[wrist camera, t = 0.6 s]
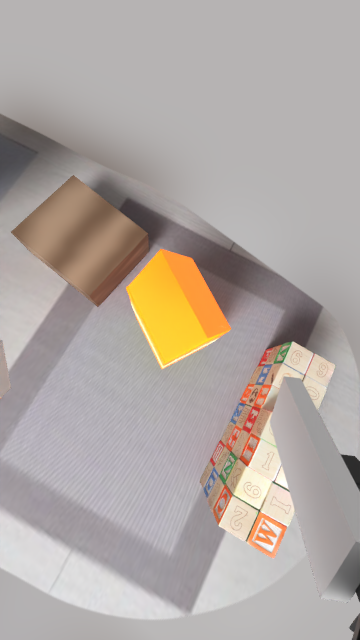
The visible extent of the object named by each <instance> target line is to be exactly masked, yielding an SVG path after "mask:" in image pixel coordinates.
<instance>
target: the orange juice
mask: <svg viewBox="0 0 360 640" xmlns="http://www.w3.org/2000/svg"><path fill="white" fill-rule="evenodd" d="M126 290H127V292H128V294H129V297H130V300H131V304H132V307H133V310H134V312H135V315H136V318H137V320H138V322H139V324H140V326H141V328H142V330H143V332H144V334H145V336H146V338H147V340H148V342H149V344H150V346H151V348H152V350H153V352H154V354H155V356H156V358H157V360H158V363H159V365H160V367H161V369H163V368H165V367H167V366H169V365H171V364H173V363H175V362H177V361H179V360H181V359H183V358H185V357H187V356H188V355H190V354H192V353H194V352H196V351H198V350H200V349H202V348H204V347H206V346H207V345H209V344H210V343H212V342H214V341H215V340H217V339H218V338H219V337H221V336H222V335H224V334H225V333H227V332H228V331H230V330H231V328H230V326H229V324H228V322H227V321H226V319H225V317H224V315H223V313H222V312H221V310H220V308H219V306H218V304H217V302H216V301H215V299H214V297H213V295H212V293H211V292H210V290H209V288H208V286H207V284H206V283H205V281H204V279H203V277H202V275H201V273H200V272H199V270H198V268H197V266H196V264H195V263H194V261H193V259H192V258H189V257H186V256H183V255H179V254H176V253H173V252H169V251H166V250H163V249H160V251H159V252H158V253H157V254H156V255H155V256H154V258H153V259H152V260H151V261H150V262H149V263H148V264H147V266H146V267H145V268H144V269H143V270H142V271H141V272H140V274H139V275H138V276H137V277H136V278H135V279H134V280H133V282H132V283H131V284H130V285H129V286H127V287H126Z"/></svg>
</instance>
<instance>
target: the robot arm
mask: <svg viewBox="0 0 360 640" xmlns="http://www.w3.org/2000/svg"><path fill="white" fill-rule="evenodd" d="M10 388H11V384H10V379H9V374H8V369H7V363H6V358H5V353H4V347H3V342H2V340H0V398H1V397H2V396H3V395H4V394H5V393H6V392H7V391H8V390H9V389H10ZM270 425H271V429H272V432H273V436H274V439H275V443H276V446H277V450H278V453H279V457H280V460H281V463H282V467H283V470H284V474H285V477H286V481H287V484H288V488H289V491H290V495H291V498H292V502H293V505H294V509H295V512H296V516H297V519H298V523H299V526H300V530H301V533H302V537H303V540H304V544H305V547H306V551H307V554H308V558H309V561H310V565H311V568H312V572H313V575H314V579H315V582H316V585H317V589H318V592H319V596H320V598H321V599H326V600H333V601H340V602H346V603H348V602H349V600H350V599H351V598H352V597H353V595H354V594H355V592H356V593H357V596H358V599H359V601H360V461H359V460H358V459H357V458H356V457H355V456H349V455H341V454H340V453H339V451H338V449H337V447H336V445H335V443H334V441H333V439H332V437H331V435H330V434H329V432H328V430H327V428H326V426H325V424H324V422H323V420H322V418H321V416H320V414H319V412H318V411H317V409H316V407H315V405H314V403H313V401H312V399H311V397H310V395H309V393H308V391H307V390H306V388H305V386H304V384H303V382H302V380H301V378H293V377H286V376H284V377H283V380H282V383H281V387H280V390H279V393H278V396H277V400H276V403H275V406H274V409H273V413H272V416H271V419H270ZM350 629H351V630H352V631H353V632H354V635H353V638H352V640H360V614H359V615H358V616H357V617H356V619H355V620H354V621H353V623H352V624H351V626H350Z"/></svg>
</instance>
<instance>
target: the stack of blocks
mask: <svg viewBox="0 0 360 640" xmlns="http://www.w3.org/2000/svg"><path fill="white" fill-rule="evenodd" d="M335 367H336V365H335V364H333V363H331V362H329V361H327V360H326V359H324V358H322V357H321V356H319V355H317V354H315V353H313V352H311V351H309V350H307V349H306V348H304V347H302V346H300V345H299V344H297V343H295V342H293V341H292V342H288V343H284V344H282V345H280V346H276V347H274V348H269V349H266V351H265V353H264V355H263V357H262V359H261V361H260V363H259V365H258V367H257V368H256V370H255V372H254V374H253V376H252V378H251V380H250V382H249V384H248V386H247V388H246V390H245V392H244V394H243V396H242V398H241V400H240V403H239V405H238V407H237V409H236V411H235V413H234V415H233V417H232V419H231V421H230V423H229V425H228V427H227V429H226V431H225V433H224V435H223V437H222V439H221V441H220V442H219V444H218V446H217V448H216V450H215V452H214V454H213V456H212V458H211V460H210V461H209V463H208V465H207V467H206V469H205V471H204V473H203V475H202V477H201V479H200V483H201V485H202V488H203V489H204V492H205V494H206V497H207V501H208V504H209V506H210V509H211V511H212V512H213V513H214V516H215V518H216V521H217V523H218V525H219V526H220V527H221V528H223V529H225V530H226V531H228V532H230V533H231V534H233V535H235V536H236V537H238V538H239V539H241V540H242V541H244V542H245V541H246V542H247V543H248V544H250V545H251V546H253V547H254V548H256V549H258V550H259V551H261V552H263V553H265V554H266V555H268V556H270V557H271V558H275V556H276V554H277V551H278V549H279V546H280V544H281V541H282V539H283V536H284V534H285V531H286V529H287V526H289V525H290V522H291V520H292V517H293V514H294V512H295V509H294V505H293V502H292V498H291V495H290V491H289V488H288V484H287V481H286V477H285V474H284V470H283V467H282V463H281V460H280V457H279V453H278V450H277V446H276V443H275V439H274V436H273V432H272V429H271V425H270V419H271V416H272V413H273V409H274V406H275V403H276V400H277V396H278V393H279V390H280V387H281V383H282V380H283V377H284V376H286V377H293V378H301V380H302V382H303V384H304V386H305V388H306V390H307V391H308V393H309V395H310V397H311V399H312V401H313V403H314V405H315V407H316V409H317V411H318V409H319V407H320V405H321V402H322V400H323V398H324V395H325V393H326V390H327V386H328V384H329V381H330V379H331V377H332V374H333V372H334V370H335Z"/></svg>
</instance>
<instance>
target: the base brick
mask: <svg viewBox="0 0 360 640" xmlns="http://www.w3.org/2000/svg"><path fill="white" fill-rule="evenodd" d="M11 233H12V234H13V235H14V236H15V237H16V238H17V239H18V240H19V241H20V242H21V243H22V244H23V245H24V246H25V247H26V248H27V249H28V250H29V251H30V252H31V253H32V254H34V255H35V256H36V257H37V258H39V259H40V260H41V261H42V262H44V263H45V264H46V265H47V266H48V267H50V268H51V269H52V270H53V271H55V272H56V273H57V274H58V275H59V276H61V277H62V278H63V279H64V280H66V281H67V282H68V283H69V284H70V285H72V286H73V287H74V288H75V289H77V290H78V291H79V292H80V293H81V294H83V295H84V296H85V297H86V298H88V299H89V300H90V301H91V302H92V303H94V304H95V305H96V306H97V307H99V305H100V304H101V303H102V302H103V301H104V300H105V299H106V298H107V297H108V296H109V295H110V294H111V292H112V291H113V290H114V289H115V288H116V287H117V286H118V285H119V284H120V283H121V282H122V280H123V279H124V278H125V277H126V276H127V275H128V274H129V273H130V272H131V271H132V270H133V268H134V267H135V266H136V265H137V264H138V263H139V262H140V261H141V260H142V259H143V258H144V257H145V255H146V254H147V253H148V252H149V242H148V233H147V232H146V231H144V230H143V229H142V228H140V227H139V226H138V225H137V224H135V223H134V222H133V221H131V220H130V219H129V218H128V217H126V216H125V215H124V214H122V213H121V212H120V211H119V210H117V209H116V208H115V207H113V206H112V205H111V204H110V203H108V202H107V201H106V200H105V199H103V198H102V197H101V196H99V195H98V194H97V193H96V192H94V191H93V190H92V189H90V188H89V187H88V186H87V185H85V184H84V183H83V182H81V181H80V180H79V179H78V178H76V177H75V176H74V175H73V176H72V177H71V178H70V179H68V180H67V181H66V182H65V183H64V184H63V185H62V186H61V187H60V188H59V189H57V190H56V191H55V192H54V193H53V194H52V195H51V196H50V197H49V198H48V199H47V200H45V201H44V202H43V203H42V204H41V205H40V206H39V207H38V208H37V209H36V210H35V211H33V212H32V213H31V214H30V215H29V216H28V217H27V218H26V219H25V220H24V221H22V222H21V223H20V224H19V225H18V226H17V227H16V228H15V229H14V230H13V231H12V232H11Z"/></svg>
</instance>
